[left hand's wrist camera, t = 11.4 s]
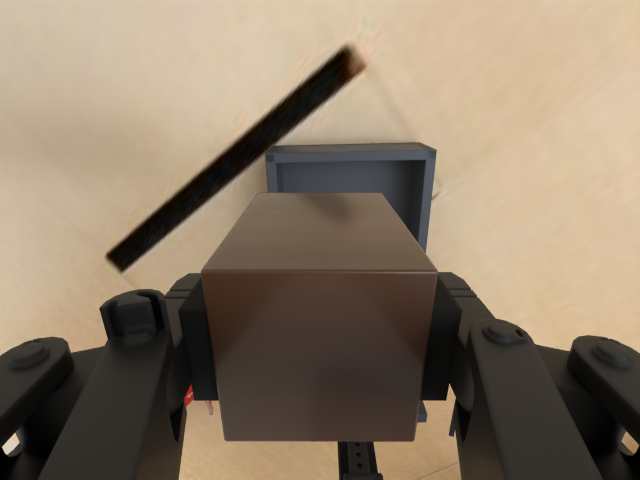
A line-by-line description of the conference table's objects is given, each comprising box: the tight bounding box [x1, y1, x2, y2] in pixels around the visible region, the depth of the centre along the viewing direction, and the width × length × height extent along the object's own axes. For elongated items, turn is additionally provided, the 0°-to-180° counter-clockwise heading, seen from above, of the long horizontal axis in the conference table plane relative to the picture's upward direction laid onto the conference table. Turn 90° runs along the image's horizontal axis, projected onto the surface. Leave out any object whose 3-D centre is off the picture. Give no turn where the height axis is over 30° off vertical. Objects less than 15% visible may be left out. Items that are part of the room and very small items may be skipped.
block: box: [201, 193, 438, 442], centre depth 11 cm, size 5×5×7 cm
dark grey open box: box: [265, 143, 437, 422], centre depth 31 cm, size 24×14×10 cm, turn 1°
